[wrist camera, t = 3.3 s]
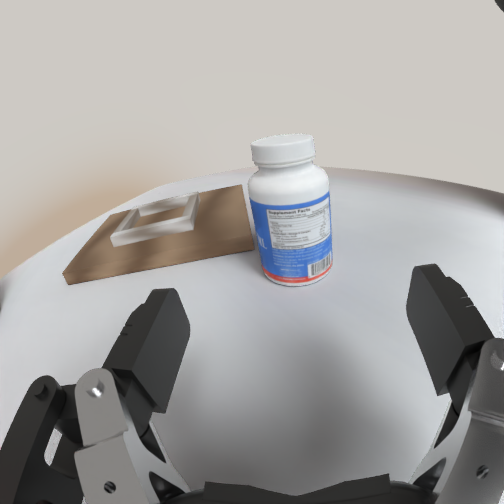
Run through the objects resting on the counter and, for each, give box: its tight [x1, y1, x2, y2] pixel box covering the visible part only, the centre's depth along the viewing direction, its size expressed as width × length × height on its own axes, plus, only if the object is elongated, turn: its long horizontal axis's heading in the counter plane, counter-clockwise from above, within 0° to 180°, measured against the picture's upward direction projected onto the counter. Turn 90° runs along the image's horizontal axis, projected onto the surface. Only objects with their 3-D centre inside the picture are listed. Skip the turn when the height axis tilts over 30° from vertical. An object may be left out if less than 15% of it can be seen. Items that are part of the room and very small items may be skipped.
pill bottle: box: [248, 134, 332, 286], centre depth 19 cm, size 6×5×10 cm
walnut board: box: [62, 185, 254, 285], centre depth 32 cm, size 20×16×3 cm
